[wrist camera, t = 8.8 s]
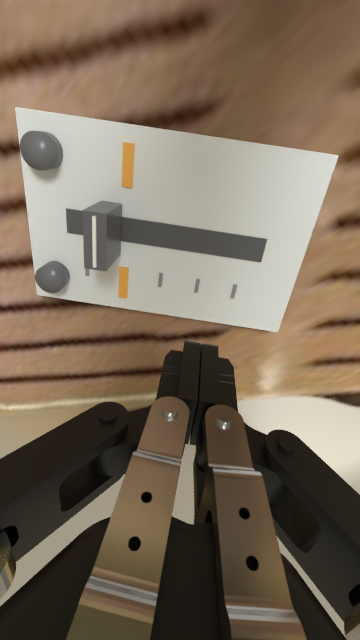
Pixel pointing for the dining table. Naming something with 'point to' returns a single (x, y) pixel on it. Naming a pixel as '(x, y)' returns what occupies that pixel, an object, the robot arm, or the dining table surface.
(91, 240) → the fader tab
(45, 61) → the dining table surface
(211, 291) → the console board
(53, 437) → the robot arm
